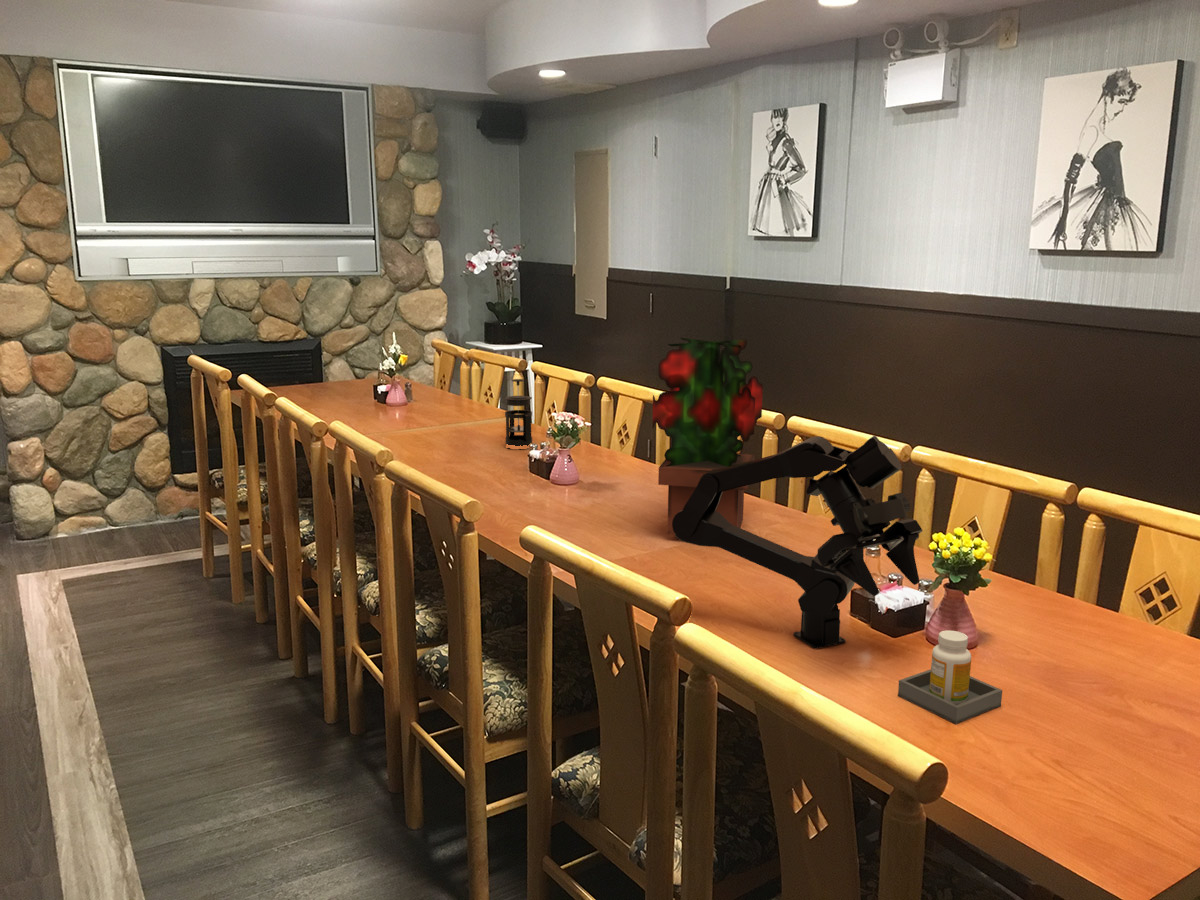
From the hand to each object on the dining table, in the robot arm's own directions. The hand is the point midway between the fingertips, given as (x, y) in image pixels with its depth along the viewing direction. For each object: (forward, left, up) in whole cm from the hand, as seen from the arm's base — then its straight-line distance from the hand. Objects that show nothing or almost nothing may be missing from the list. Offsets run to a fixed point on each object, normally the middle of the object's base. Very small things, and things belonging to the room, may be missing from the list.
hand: (897, 589), depth 146 cm
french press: (-186, +2, -14) cm, 187 cm away
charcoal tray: (+12, +1, -14) cm, 18 cm away
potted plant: (-75, +10, -14) cm, 77 cm away
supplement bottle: (+11, +1, -13) cm, 17 cm away
